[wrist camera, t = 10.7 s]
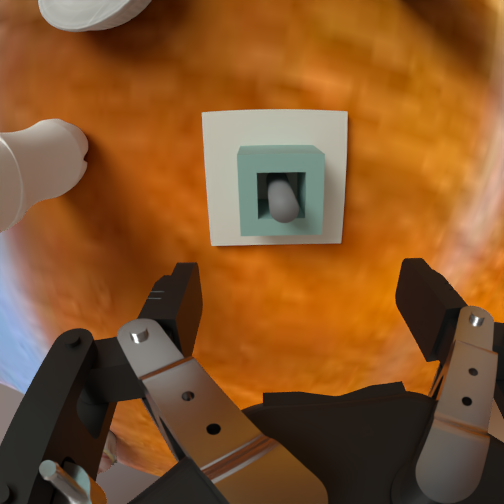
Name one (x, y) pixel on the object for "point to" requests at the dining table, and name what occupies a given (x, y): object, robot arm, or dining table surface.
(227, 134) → the post stand
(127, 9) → the ramekin
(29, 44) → the dining table surface
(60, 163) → the water bottle
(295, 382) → the dining table surface
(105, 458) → the cupcake
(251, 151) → the collar
